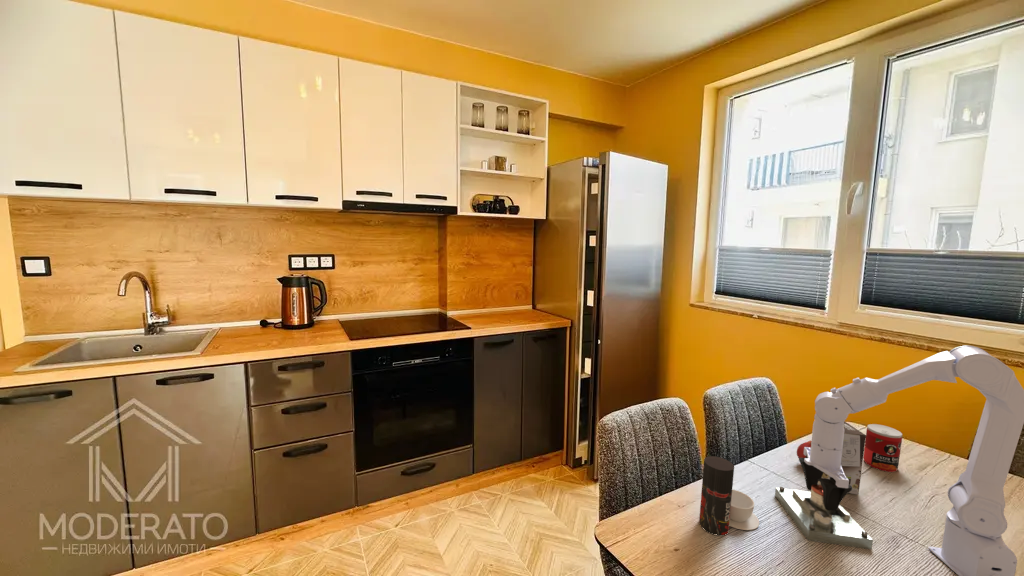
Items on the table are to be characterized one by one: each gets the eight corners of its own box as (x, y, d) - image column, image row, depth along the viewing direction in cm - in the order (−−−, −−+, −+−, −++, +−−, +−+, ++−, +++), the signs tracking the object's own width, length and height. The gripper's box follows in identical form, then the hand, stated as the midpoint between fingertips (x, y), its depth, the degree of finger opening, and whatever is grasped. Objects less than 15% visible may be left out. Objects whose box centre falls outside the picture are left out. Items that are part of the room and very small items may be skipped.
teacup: (735, 535, 88) (737, 515, 87) (701, 507, 97) (702, 489, 97) (769, 527, 91) (771, 507, 90) (733, 500, 100) (735, 482, 100)
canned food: (871, 469, 116) (876, 433, 115) (857, 456, 124) (861, 422, 123) (904, 474, 114) (909, 437, 113) (887, 460, 122) (892, 425, 120)
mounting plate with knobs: (871, 549, 85) (874, 530, 84) (808, 540, 87) (810, 521, 86) (827, 502, 100) (829, 486, 100) (774, 495, 103) (776, 480, 102)
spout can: (836, 522, 93) (840, 490, 92) (815, 520, 93) (819, 488, 93) (824, 510, 97) (828, 479, 96) (804, 507, 98) (808, 477, 97)
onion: (791, 463, 119) (793, 437, 118) (802, 459, 121) (805, 434, 120) (812, 473, 113) (815, 446, 112) (824, 469, 116) (827, 442, 115)
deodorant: (724, 539, 86) (730, 473, 85) (695, 526, 90) (700, 463, 89) (731, 525, 91) (737, 462, 89) (703, 514, 95) (708, 453, 93)
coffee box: (860, 495, 104) (867, 435, 102) (831, 491, 105) (838, 432, 103) (839, 475, 113) (845, 420, 111) (813, 472, 114) (819, 418, 112)
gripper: (792, 428, 101) (787, 479, 103) (825, 458, 87) (819, 516, 89) (823, 431, 100) (818, 483, 101) (862, 462, 86) (855, 521, 87)
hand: (821, 499), depth 95 cm, fingers open, 7 cm apart
